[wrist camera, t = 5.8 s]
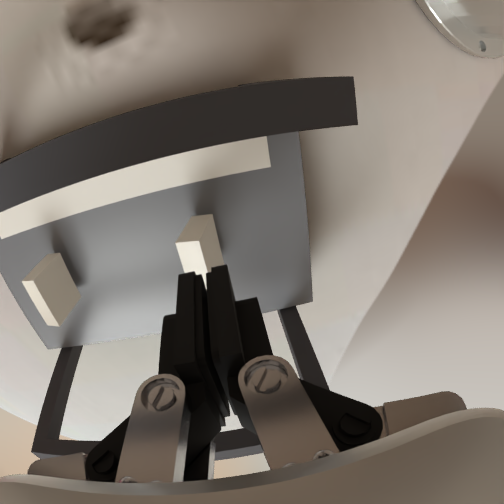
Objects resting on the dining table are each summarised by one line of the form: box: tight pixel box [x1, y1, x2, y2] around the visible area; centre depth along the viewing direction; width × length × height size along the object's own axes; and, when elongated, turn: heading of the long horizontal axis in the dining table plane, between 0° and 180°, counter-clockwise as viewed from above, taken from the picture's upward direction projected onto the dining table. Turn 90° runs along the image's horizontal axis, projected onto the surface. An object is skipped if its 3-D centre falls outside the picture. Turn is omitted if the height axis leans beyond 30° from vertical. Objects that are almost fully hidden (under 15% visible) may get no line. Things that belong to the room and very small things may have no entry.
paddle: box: [22, 253, 81, 327], centre depth 13 cm, size 1×3×2 cm, turn 8°
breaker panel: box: [0, 131, 313, 349], centre depth 16 cm, size 18×11×3 cm, turn 100°
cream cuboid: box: [175, 214, 224, 290], centre depth 14 cm, size 1×3×2 cm, turn 8°
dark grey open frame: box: [0, 77, 358, 461], centre depth 13 cm, size 16×14×11 cm
